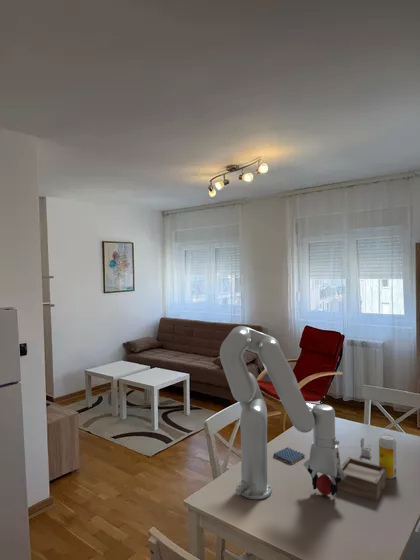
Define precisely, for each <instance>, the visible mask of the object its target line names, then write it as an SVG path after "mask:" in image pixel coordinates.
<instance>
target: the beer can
mask: <svg viewBox="0 0 420 560" xmlns="http://www.w3.org/2000/svg"><path fill="white" fill-rule="evenodd" d="M378 465H379V466H383V467H386V479H390V480H391V479H394V478H395V477H396V476H397V441H396V438H395V437H394V436H393V435H390V434H380V436H379V438H378Z"/></svg>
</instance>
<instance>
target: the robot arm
mask: <svg viewBox="0 0 420 560" xmlns="http://www.w3.org/2000/svg"><path fill="white" fill-rule="evenodd" d="M246 351H248V352H252V353H253V354H257V355H258V357H259V360H260V362H261V364H262V365H263V367H264V369H265V371H266V373H267V375H268V377H269V379H270V382H271V383H272V385H273V387H274V390H275V392H276V393H277V397H279V400H280V401H281V403H282V406H283V408H284V409H285V412H286V414H287V416H288V418H289V419H290V421H291V424H292V425H293V427H294V428H295V430H297V431H298V432H300V433H303V434H304V433H305V434H306V433H309V432H311V431H312V430H313V431H312V433H313V434H312V435H313V436H312V437H313V440H312V442H311V445H310V451H309V459H307V460H306V461H305V462H304V463H303V466H304V467H305V469H306V470H307V472H308V473H309V475H310V477H311V479H312V480H311V482H312V483H311V484H312V488H313V490H317V487H316V481H317V479H318V477H319V475H318V473H319V474H321V475H322V474H326V475H327V476H328V477H329V478H330V479H331V481H332V484H331V493H330V495H331V496H332V497H334V496H335V494H337V493H338V488H337V483H338V482H340V481H341V480H343V479H344V478H346V476H347V475H346V474H345V472H344V471H343V470H342V468H341V457H340V450H339V445H340V441H339V440H338V439H337V438H336V411H335V409H334V407H332V406H331V405H329V404H325V403H324V404H323V403H322V404H313V403H308V402H306V400H305V398H304V396H303V394H302V392H301V389H300V386H299V383H298V380H297V377H296V375H295V373H294V371H293V369H292V368H291V366H290V364H289V362H288V360H287V358H286V356H285V353H284V352H283V350H282V348H281V345H280V343H279V341H278V340H277V339H276V338H275V337H274V336H271V335H268V334H266V333H263V332H260V331H257V330H255V329H252V328H251V327H248V326H244V325H238V326H235V327H234V328H232V330H231V331H230V332H229V334H228V335H227V337H225V339H224V340H223V341H222V343H221V346H220V348H219V359H220V362H221V363H220V364H221V365H222V368H223V372H224V374H225V377H226V381H227V383H228V386H229V389H230V391H231V394H232V397H233V398H234V400H236V401H237V403H239V405H240V407H241V414H240V422H239V424H240V425H239V427H240V453H241V455H240V456H241V459H240V460H241V461H240V462H241V465H240V466H241V471H240V472H241V480H240V482H238V484H237V486H236V487H237V489H235V494H236V496H241V497H245V498H246V499H250V500H262V499H265V498H268V497H269V496H271V495H272V489H273V488H272V487H273V486H272V485H271V483H269V481H268V410H267V404H266V401H265V399H264V396H263V393H262V391H261V389H260V388H261V387H260V386H259V383H258V381H257V379H256V377H255V375H254V374H253V373H251V372H250V371H249V370H248V367H247V363H246V362H245V359H244V353H245V352H246ZM337 472H339V474H340V475H341V476H339V477H337Z"/></svg>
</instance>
